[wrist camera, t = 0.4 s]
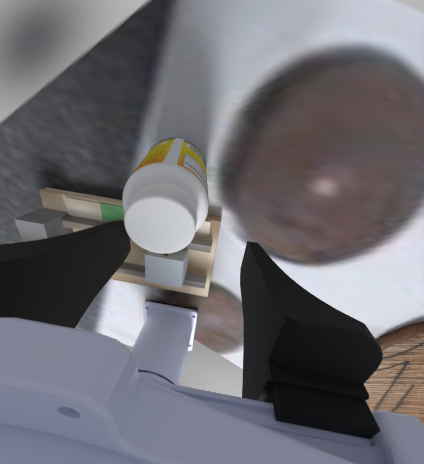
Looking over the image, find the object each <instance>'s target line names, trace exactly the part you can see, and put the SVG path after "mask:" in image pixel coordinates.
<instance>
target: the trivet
mask: <svg viewBox="0 0 424 464" xmlns="http://www.w3.org/2000/svg"><path fill="white" fill-rule="evenodd" d="M376 341H377V343H378V344H379V346H380V347H381V350H382V353H383V358H382V362H381V364H380V366H379V367H378V369H377V370H376V371H375V372H374V373H373V374H372V375H371V377H370V378H369V379H368V380H367V381H366V382H365V383H364V386H365V388H366V390H367V392H368V394H369V399H368V400H366V402H367V404H368V406H369V408H370V410H371V412H373V411H388V412H393V413H398V414H404V415H409V416H414V417H417V418H418V419H420V421H421V422H422V424H423V425H424V321H423V322H419V323H415V324H411V325H408V326H405V327H403V328H400V329H398V330H395V331H393V332H390V333H388V334H385V335H383V336H382V337H380V338H378V339H377V340H376Z"/></svg>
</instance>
